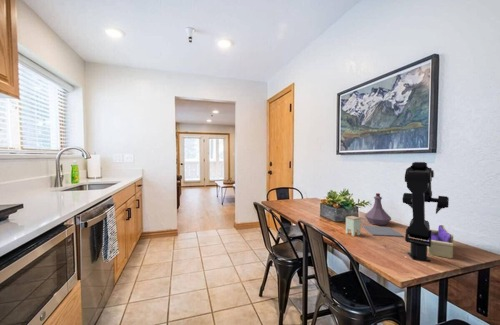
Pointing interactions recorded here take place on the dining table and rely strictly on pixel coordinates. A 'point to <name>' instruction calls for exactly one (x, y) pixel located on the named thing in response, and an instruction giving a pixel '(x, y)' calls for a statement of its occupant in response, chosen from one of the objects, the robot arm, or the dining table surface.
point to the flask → (377, 213)
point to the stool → (353, 225)
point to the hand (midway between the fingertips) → (425, 211)
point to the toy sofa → (441, 243)
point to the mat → (382, 231)
